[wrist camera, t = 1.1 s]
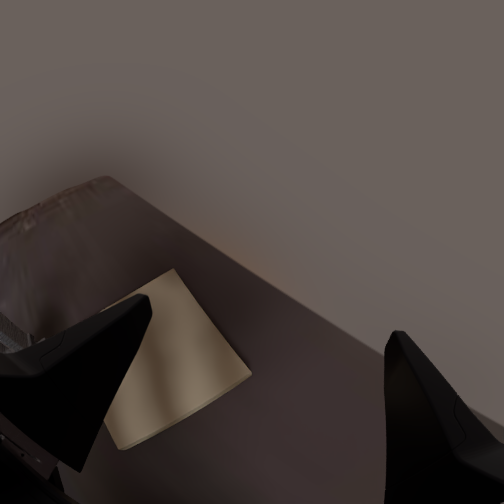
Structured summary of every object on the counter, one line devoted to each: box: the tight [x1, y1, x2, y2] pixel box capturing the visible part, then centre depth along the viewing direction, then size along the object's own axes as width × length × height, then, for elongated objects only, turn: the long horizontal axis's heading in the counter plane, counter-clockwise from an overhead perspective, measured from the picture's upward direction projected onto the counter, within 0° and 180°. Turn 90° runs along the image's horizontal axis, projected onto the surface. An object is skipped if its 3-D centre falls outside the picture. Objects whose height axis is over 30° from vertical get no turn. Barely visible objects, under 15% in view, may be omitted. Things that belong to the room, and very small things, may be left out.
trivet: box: [102, 268, 252, 450], centre depth 23 cm, size 14×14×1 cm
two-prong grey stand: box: [0, 312, 46, 353], centre depth 17 cm, size 5×5×13 cm
